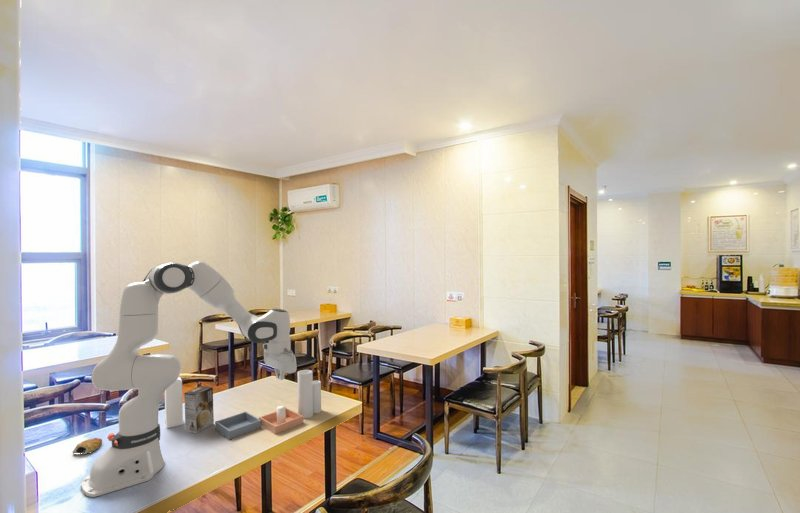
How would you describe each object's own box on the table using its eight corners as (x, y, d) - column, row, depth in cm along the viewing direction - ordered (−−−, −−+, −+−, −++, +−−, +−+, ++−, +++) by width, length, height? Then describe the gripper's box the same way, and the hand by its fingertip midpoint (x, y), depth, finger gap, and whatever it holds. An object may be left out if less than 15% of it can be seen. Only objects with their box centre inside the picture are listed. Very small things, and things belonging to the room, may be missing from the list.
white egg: (279, 426, 161) (279, 409, 161) (275, 423, 164) (275, 407, 164) (287, 423, 164) (287, 407, 164) (282, 421, 167) (282, 405, 166)
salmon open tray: (275, 435, 155) (275, 426, 155) (259, 425, 164) (258, 417, 163) (303, 424, 165) (303, 416, 164) (286, 415, 173) (286, 407, 173)
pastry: (89, 443, 150) (89, 433, 150) (107, 442, 150) (107, 433, 150) (70, 456, 140) (70, 445, 140) (90, 455, 141) (90, 445, 141)
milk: (166, 428, 162) (165, 376, 161) (165, 423, 166) (163, 372, 166) (183, 424, 165) (181, 373, 165) (181, 419, 170) (179, 369, 170)
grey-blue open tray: (229, 440, 151) (229, 431, 151) (215, 429, 160) (215, 421, 160) (261, 428, 161) (260, 420, 161) (246, 419, 170) (245, 411, 170)
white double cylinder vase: (306, 420, 168) (305, 375, 167) (294, 417, 171) (293, 372, 171) (323, 411, 178) (322, 368, 177) (311, 408, 181) (311, 366, 181)
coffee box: (202, 421, 168) (201, 385, 167) (214, 423, 166) (213, 386, 165) (184, 431, 159) (183, 392, 159) (196, 433, 157) (195, 394, 157)
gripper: (300, 349, 159) (300, 382, 160) (273, 341, 173) (274, 371, 173) (286, 352, 154) (287, 386, 155) (260, 344, 168) (261, 375, 168)
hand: (280, 378), depth 164 cm, fingers closed
